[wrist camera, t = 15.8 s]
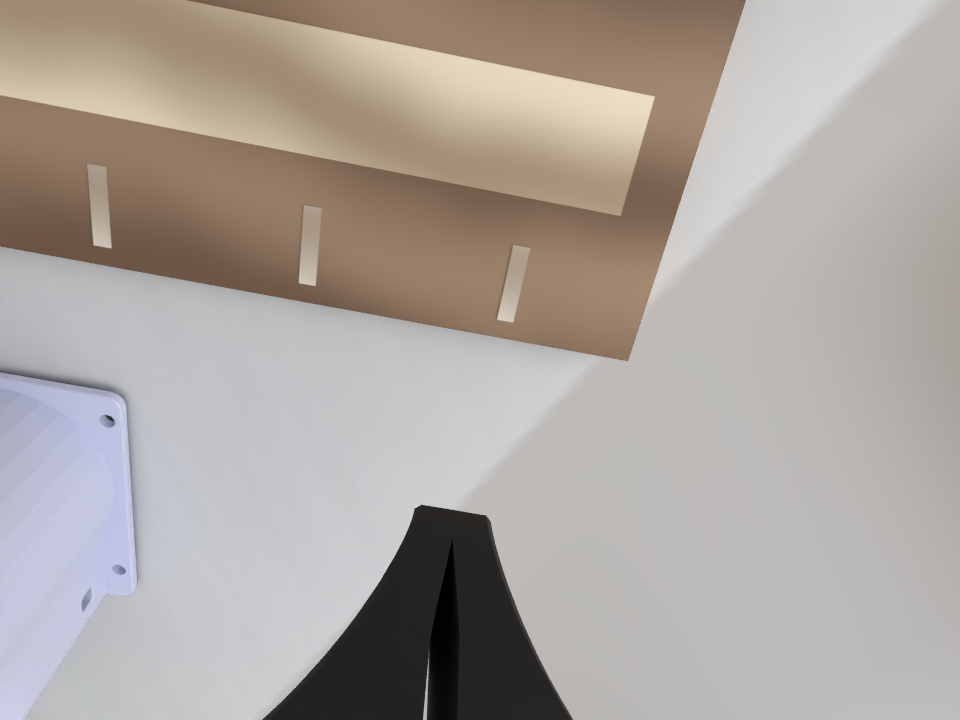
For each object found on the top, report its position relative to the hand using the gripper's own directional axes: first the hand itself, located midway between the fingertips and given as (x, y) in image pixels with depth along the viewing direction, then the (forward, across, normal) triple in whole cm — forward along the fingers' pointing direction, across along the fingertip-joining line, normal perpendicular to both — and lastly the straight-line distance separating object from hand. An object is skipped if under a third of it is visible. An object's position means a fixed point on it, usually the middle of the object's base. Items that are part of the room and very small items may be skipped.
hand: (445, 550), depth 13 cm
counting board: (+10, +8, -6) cm, 14 cm away
